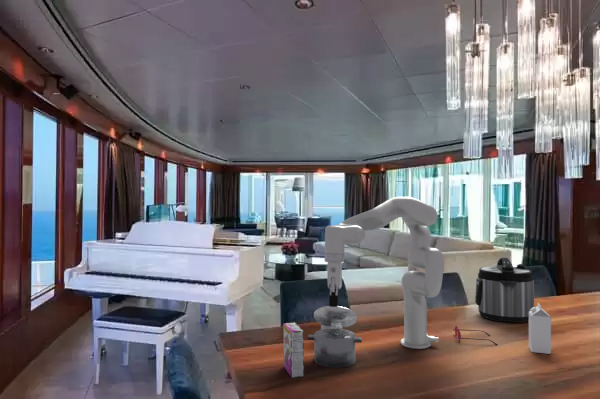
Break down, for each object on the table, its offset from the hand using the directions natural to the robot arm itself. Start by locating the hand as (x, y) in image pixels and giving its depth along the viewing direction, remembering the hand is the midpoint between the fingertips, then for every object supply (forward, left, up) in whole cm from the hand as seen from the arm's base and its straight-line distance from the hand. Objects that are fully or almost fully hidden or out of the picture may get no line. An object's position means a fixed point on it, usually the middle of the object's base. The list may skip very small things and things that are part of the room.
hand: (333, 305), depth 168 cm
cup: (+4, -28, -22) cm, 36 cm away
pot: (0, -4, -22) cm, 22 cm away
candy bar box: (+14, +10, -22) cm, 28 cm away
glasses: (-60, -39, -23) cm, 75 cm away
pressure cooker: (-84, -81, -22) cm, 119 cm away
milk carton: (-83, -28, -22) cm, 90 cm away
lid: (0, -6, -6) cm, 8 cm away
